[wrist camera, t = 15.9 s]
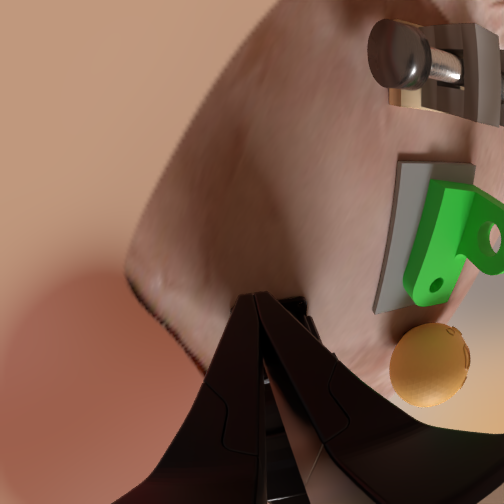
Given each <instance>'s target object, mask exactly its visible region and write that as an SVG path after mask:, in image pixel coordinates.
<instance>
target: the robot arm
mask: <svg viewBox="0 0 504 504" xmlns="http://www.w3.org/2000/svg"><path fill="white" fill-rule="evenodd" d="M301 302H302V303H301ZM299 303H301V304H299ZM306 311H307V302H306V299H305V298H304V297H298V298H291V299H285V300H279V301H277V300H276V299H275V298H274V297H273V296H272V295H271V294H270V293H269V292H268V291H263V292H256V293H254V295H253V294H252V293H248V294H241V295H239V296H238V298H237V301H236V303H235V306H234V307H233V308H232V309H231V310H230V314H231V315H230V318H229V320H228V322H227V325H226V327H225V330H224V332H223V335H222V337H221V339H220V342H219V344H218V347H217V349H216V351H215V354H214V356H213V359H212V361H211V364H210V366H209V368H208V371H207V373H206V376H205V378H204V380H203V382H204V383H202V385H201V387H200V390H199V392H198V394H197V397H196V399H195V401H194V403H193V405H192V408H191V410H190V411H189V413H188V415H187V417H186V419H185V420H184V423H183V424H182V426H181V427H180V429H179V431H178V432H177V434H176V436H175V437H174V439H173V441H172V442H171V444H170V445H169V447H168V449H167V450H166V452H165V454H164V455H163V457H162V458H161V460H160V462H159V463H158V465H157V466H156V468H155V469H154V470H153V472H152V473H151V474H150V475H149V476H148V477H147V478H146V479H145V480H144V481H143V482H142V483H140V484H139V485H138V486H136V487H135V488H133V489H132V490H131V491H129V492H128V493H126V494H125V495H123V496H122V497H120V498H119V499H117V500H116V501H114V502H113V503H111V504H267V502H268V503H270V504H504V434H489V433H477V432H468V431H461V430H453V429H446V428H440V427H434V426H430V425H427V424H424V423H422V422H420V421H418V420H416V419H414V418H413V417H411V416H410V415H408V414H407V413H405V412H404V411H403V410H401V409H400V408H398V407H397V406H395V405H394V404H393V403H391V402H390V401H388V400H387V399H386V398H384V397H383V396H381V395H380V394H379V393H377V392H376V391H374V390H373V389H372V388H371V387H369V386H368V385H367V384H365V383H364V382H363V381H361V380H360V379H359V378H358V377H357V376H356V375H355V374H353V373H352V372H351V371H350V370H349V369H348V368H347V367H346V366H345V365H344V364H343V363H342V362H341V361H339V360H338V358H337V357H336V355H335V353H331V352H330V351H329V350H328V349H327V348H326V347H325V346H324V345H323V344H322V341H321V339H320V336H319V334H318V331H317V329H316V326H315V324H314V321H313V319H312V317H311V316H306Z"/></svg>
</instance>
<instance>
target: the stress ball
mask: <svg viewBox="0 0 504 504" xmlns="http://www.w3.org/2000/svg"><path fill="white" fill-rule="evenodd" d="M461 335H462V334H461V332H460V331H459V330H457V329H456V328H455V327H450V326H448V325H445V324H441V323H427V324H423V325H420V326H418V327H414V328H412V329H411V330H409V331H408V332H407V333H406V334H404V335H403V337H402V339H401V340H400V341H399V342H398V344H397V346H396V347H395V349H394V351H393V354H392V357H391V360H390V379H391V383H392V386H393V388H394V390H395V391H396V393H397V394H398V395H399V396H400V397H401V398H402V399H403V400H404V401H405V402H407V403H409V404H411V405H414V406H418V407H431V406H435V405H439V404H441V403H443V402H445V401H446V400H448V399H450V398H451V397H452V396H453V395H454V394H455V393H456V392H457V391H458V390H459V389H461V387H462V386H463V384H464V382H465V380H466V378H467V377H466V375H467V372H468V369H469V366H470V351H469V348H468V346H467V345H466V343H465V341H464V339H463V338H462V336H461Z"/></svg>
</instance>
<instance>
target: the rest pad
mask: <svg viewBox="0 0 504 504" xmlns="http://www.w3.org/2000/svg"><path fill="white" fill-rule="evenodd" d="M475 169H476V165H474V164H471V163H454V162H429V161H398V163H397V174H396V184H395V192H394V201H393V208H392V215H391V222H390V228H389V234H388V240H387V246H386V251H385V257H384V262H383V267H382V272H381V276H380V281H379V285H378V290H377V294H376V298H375V302H374V306H373V310H372V311H373V312H374V314H375V315H376V314H380V313H384V312H388V311H392V310H396V309H400V308H404V307H407V306H411V305H415V302H414V301H413V300H412V298H411V297H410V296H409V294H408V293H407V292H406V290H405V289H404V287H403V275H404V272H405V269H406V266H407V263H408V260H409V257H410V254H411V250H412V247H413V244H414V241H415V237H416V234H417V230H418V227H419V223H420V219H421V216H422V212H423V208H424V204H425V200H426V196H427V191H428V187H429V182H430V179H435V180H443V181H450V182H457V183H464V184H471V185H473V181H474V175H475Z"/></svg>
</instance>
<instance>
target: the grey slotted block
mask: <svg viewBox="0 0 504 504" xmlns="http://www.w3.org/2000/svg"><path fill="white" fill-rule="evenodd" d="M393 21H397V22H401V23H405V24H408V25H412V26H415V27H417V28H418V29H420V30H421V31H422V32H423V33H424V35H425V36H426V38H427V40H428V42H429V45H430V47H433V48H436V49H439V50H442V51H445V52H448V53H451V54H454V55H457V56H460V57H462V58H464V87H462V86H458V85H455V84H451V83H447V82H444V81H440V80H435V79H431V78H428V79H427V81H426V83H425V84H424V85H423V86H422V87H421V88H420V89H418V90H415V91H408V90H401V89H394V88H389V104H390V105H395V106H399V107H406V108H415V109H422V110H429V111H435V112H441V113H447V114H452V115H455V116H459V117H462V118H465V119H469V120H472V121H475V122H478V123H483V124H487V125H491V126H495V127H499V125H501V126H504V100H501V74H502V75H504V50H500V48H499V37H498V35H496V34H494V33H492V32H491V31H489V30H487V29H485V28H483V27H481V26H480V25H478V24H476V23H461V24H445V25H433V26H421V25H417V24H414V23H411V22H407V21H403V20H400V19H394V20H393Z"/></svg>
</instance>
